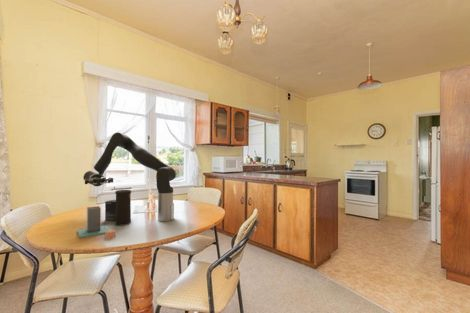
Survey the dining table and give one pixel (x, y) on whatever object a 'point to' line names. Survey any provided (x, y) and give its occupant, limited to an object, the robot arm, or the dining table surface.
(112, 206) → the small box
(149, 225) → the dining table surface
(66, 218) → the dining table surface
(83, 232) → the teal board
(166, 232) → the dining table surface
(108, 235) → the block
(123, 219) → the container
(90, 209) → the gray rectangular block
